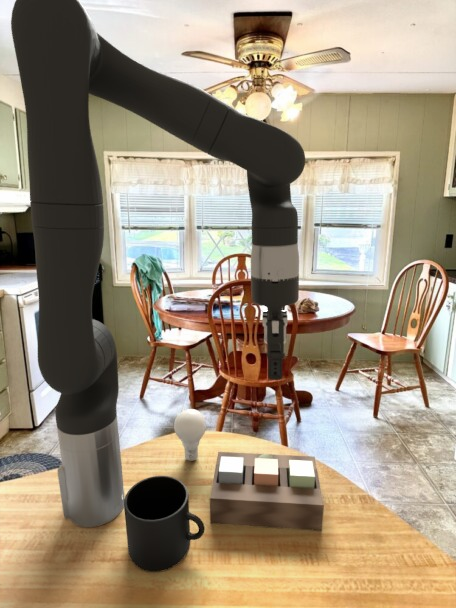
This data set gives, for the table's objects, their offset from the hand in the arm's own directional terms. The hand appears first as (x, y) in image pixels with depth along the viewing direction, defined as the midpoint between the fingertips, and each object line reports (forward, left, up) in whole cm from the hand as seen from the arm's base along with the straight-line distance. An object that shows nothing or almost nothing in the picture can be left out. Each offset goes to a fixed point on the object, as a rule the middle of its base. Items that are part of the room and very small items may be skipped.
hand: (274, 367), depth 68 cm
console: (-1, -3, -24) cm, 24 cm away
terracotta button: (-1, -3, -21) cm, 22 cm away
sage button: (+5, -3, -22) cm, 22 cm away
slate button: (-7, -3, -21) cm, 23 cm away
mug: (-16, -14, -24) cm, 32 cm away
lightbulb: (-16, +7, -24) cm, 30 cm away
